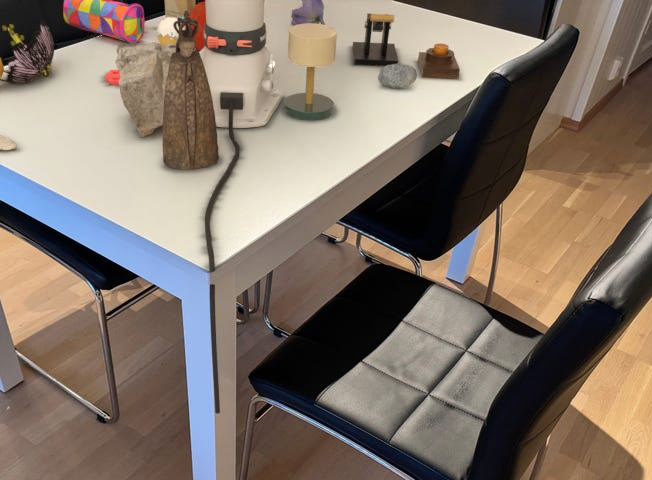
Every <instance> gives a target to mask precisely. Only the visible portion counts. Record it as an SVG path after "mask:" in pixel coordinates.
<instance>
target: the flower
mask: <svg viewBox="0 0 652 480" xmlns="http://www.w3.org/2000/svg"><path fill="white" fill-rule="evenodd" d="M301 2H302V6H300V7H298V8H294V9H292V10H291V15H290V18H291V20H290V25H291V26H294V25H298V24H305V23H314V24H323V25H326V24H325V20H324V9H325V4H324V2H323V0H301Z"/></svg>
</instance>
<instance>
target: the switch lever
mask: <svg viewBox="0 0 652 480" xmlns="http://www.w3.org/2000/svg"><path fill="white" fill-rule="evenodd" d="M370 14H371V18H370V21H373V22H372V31H371V33H372V32H374V33H383V26H384V22H391V23H394V22H395V14H389V15H385V13H384V14H382V13H381V14H379V13H370Z"/></svg>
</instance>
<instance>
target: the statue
mask: <svg viewBox="0 0 652 480" xmlns="http://www.w3.org/2000/svg"><path fill="white" fill-rule="evenodd" d="M184 12H185V13H184V17H185V18H184V19H182V18H178V19H177V21H176V22H174V24H173V27H174V29H175V30H176V31H177V33H178V34H179V36H178V40H177V42H176V52H174V53H172V55H171V59H170V64H169V70H168V76H167V82H166V88H165V96H164V111H163V125H162V160H163V161H162V162H163V163H164V164H165V165H166V166H167V167H169V168H172V169H177V170H178V169H179V170H180V169H181V170H191V169H192V170H197V169H202V168H209V167H211V166H214V165H216V164H217V163H218V161H219V158H220V155H219V144H218V143H219V142H218V138H219V137H218V129H217V128H218V127H216V121H215V112H214V107H213V101H212V95H211V91H210V86H209V82H208V78H207V74H206V71H205V68H204V65H203V62H202V59H201V55H200V53H199V52H200V51H197V50H195V47H194V46H195V43H196V41H195V40H194V36H195V35H196V33H197V32H198V30H199V26H198V22H197V20H194V19H193V20H192V19H191V18H189V17H188V16H189V13H188V11H184ZM190 19H191V20H190ZM193 22H195V23H193ZM181 23H182V24H181ZM176 24H178V27H179V30H178V29H177V26H176ZM191 25H193V26H195V27H194V29H193V30H192V27H191ZM184 26H186V29H185V30H182V28H183V27H184Z"/></svg>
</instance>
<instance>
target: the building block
mask: <svg viewBox="0 0 652 480" xmlns="http://www.w3.org/2000/svg"><path fill="white" fill-rule="evenodd" d="M119 81H120V72H119V70H118V69H110V70H109V72H106V73H105V82H108V84H109V85H111V86H112V85H113V86H115V85H117V86H118V87H119Z"/></svg>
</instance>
